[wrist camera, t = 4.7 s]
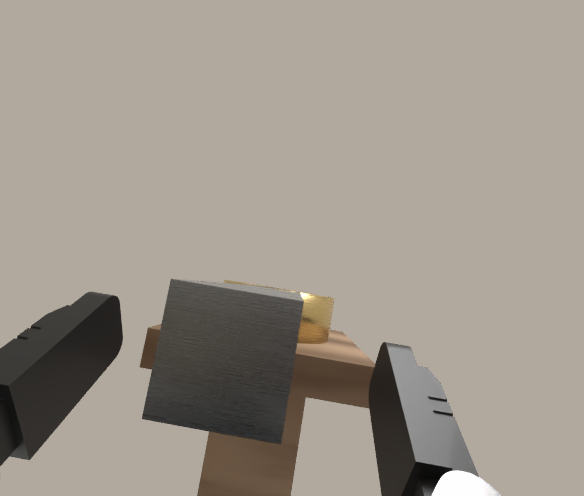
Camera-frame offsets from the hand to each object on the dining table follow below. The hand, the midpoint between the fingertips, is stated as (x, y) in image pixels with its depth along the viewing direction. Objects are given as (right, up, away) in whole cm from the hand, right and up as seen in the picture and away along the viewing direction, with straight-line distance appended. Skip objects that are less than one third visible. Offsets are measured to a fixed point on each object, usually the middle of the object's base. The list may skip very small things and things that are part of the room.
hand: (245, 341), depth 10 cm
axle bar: (0, -2, +7) cm, 7 cm away
